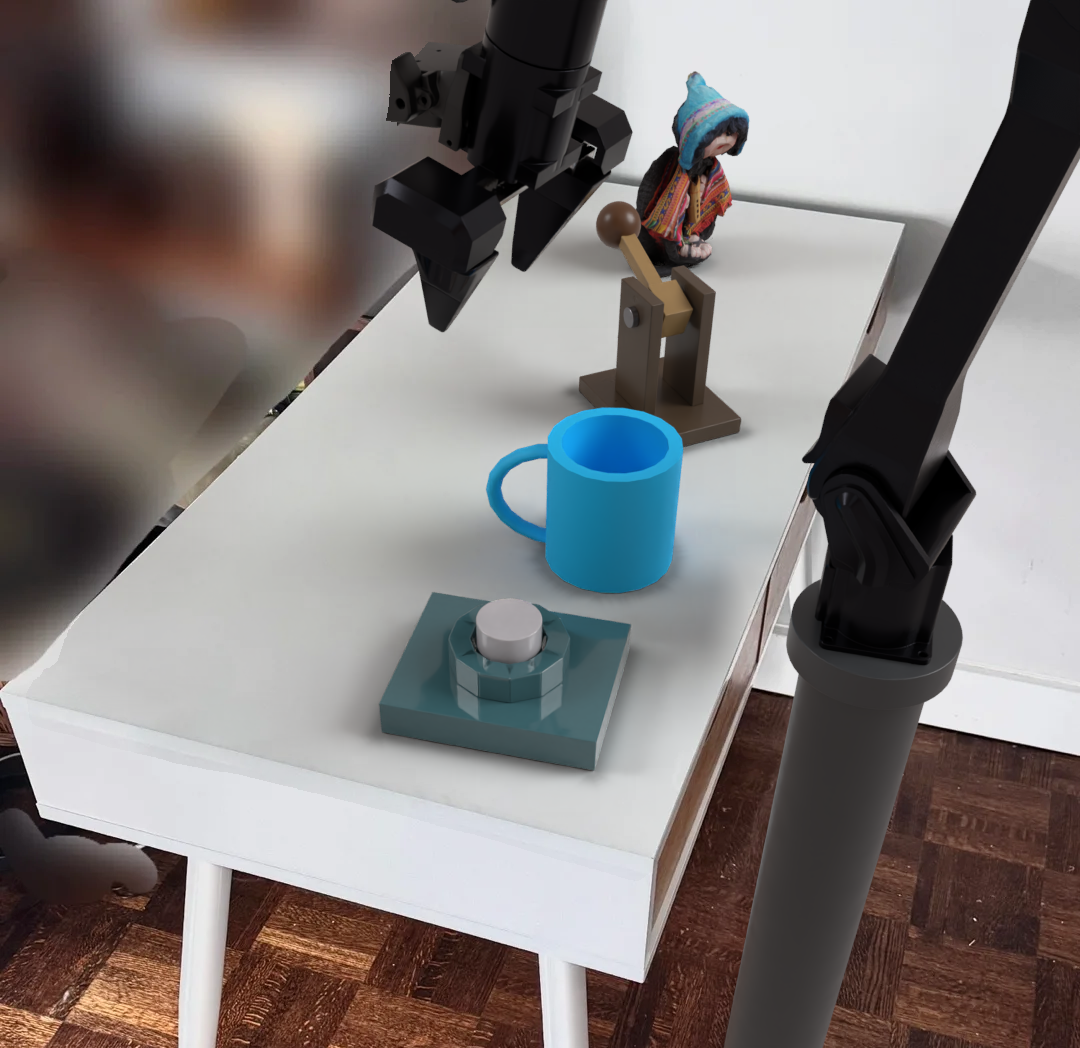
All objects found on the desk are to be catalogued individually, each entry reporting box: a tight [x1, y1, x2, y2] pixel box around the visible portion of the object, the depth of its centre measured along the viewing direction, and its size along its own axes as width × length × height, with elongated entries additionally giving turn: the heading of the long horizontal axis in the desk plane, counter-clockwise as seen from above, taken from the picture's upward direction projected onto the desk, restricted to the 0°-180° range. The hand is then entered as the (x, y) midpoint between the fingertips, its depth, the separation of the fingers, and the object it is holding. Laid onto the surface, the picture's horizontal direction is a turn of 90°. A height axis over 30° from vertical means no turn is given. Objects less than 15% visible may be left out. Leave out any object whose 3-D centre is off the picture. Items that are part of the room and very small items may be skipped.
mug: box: [485, 408, 684, 594], centre depth 83 cm, size 12×8×8 cm
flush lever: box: [595, 200, 693, 339], centre depth 94 cm, size 11×3×3 cm, turn 26°
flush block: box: [378, 591, 632, 772], centre depth 74 cm, size 12×10×4 cm
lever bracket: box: [578, 265, 742, 448], centre depth 94 cm, size 10×8×10 cm
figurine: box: [635, 70, 750, 278], centre depth 110 cm, size 10×7×15 cm
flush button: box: [476, 597, 542, 664], centre depth 73 cm, size 4×4×2 cm
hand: (479, 296), depth 81 cm, fingers open, 9 cm apart
